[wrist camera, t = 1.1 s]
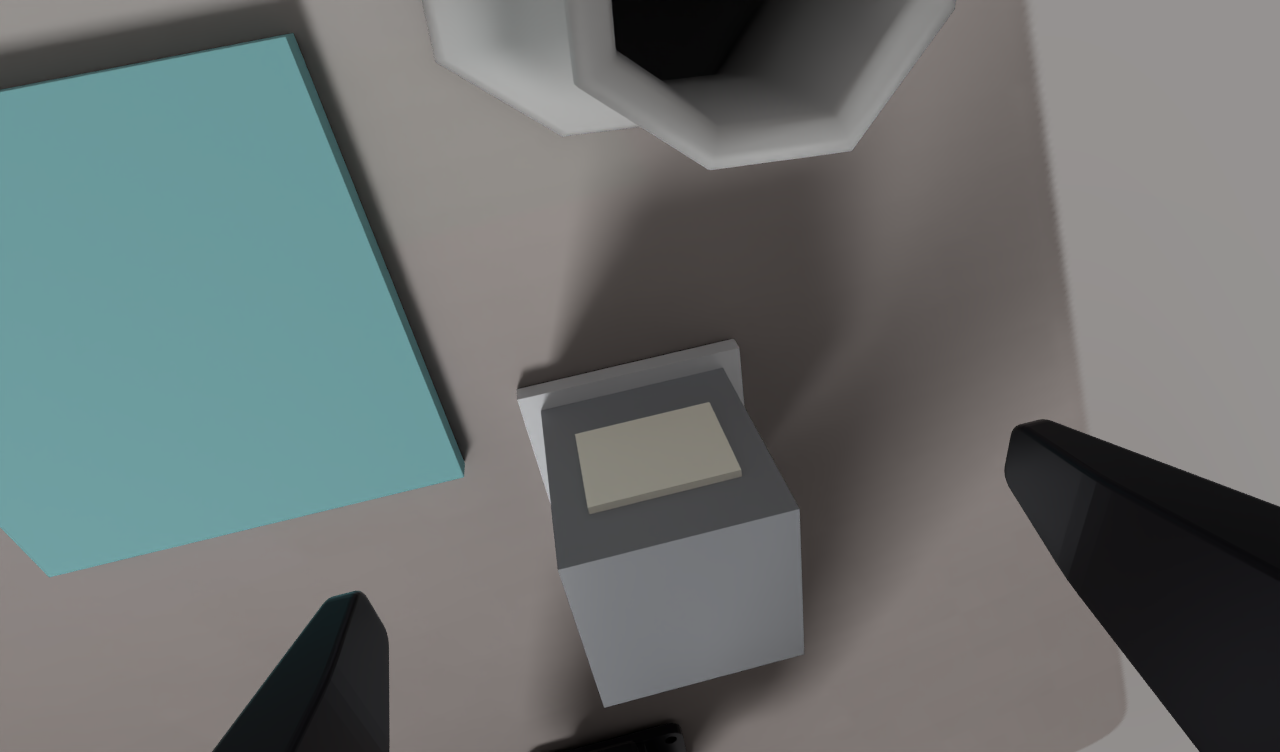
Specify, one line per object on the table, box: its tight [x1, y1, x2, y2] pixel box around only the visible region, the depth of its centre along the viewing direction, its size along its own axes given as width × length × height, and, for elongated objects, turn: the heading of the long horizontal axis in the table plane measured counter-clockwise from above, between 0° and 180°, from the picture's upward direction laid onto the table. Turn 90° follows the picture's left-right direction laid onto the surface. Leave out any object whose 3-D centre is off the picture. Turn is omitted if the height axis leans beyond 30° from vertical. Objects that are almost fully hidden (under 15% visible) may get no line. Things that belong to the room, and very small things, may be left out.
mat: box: [0, 33, 465, 577], centre depth 15 cm, size 11×11×1 cm
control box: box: [517, 339, 804, 708], centre depth 18 cm, size 6×6×6 cm
